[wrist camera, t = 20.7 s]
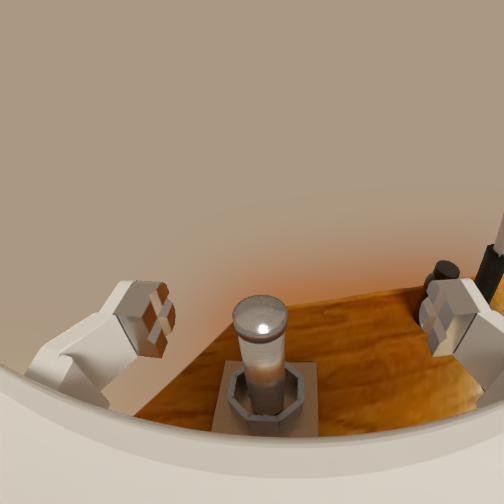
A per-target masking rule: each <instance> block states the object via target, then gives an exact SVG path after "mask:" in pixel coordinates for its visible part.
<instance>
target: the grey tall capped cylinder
mask: <svg viewBox="0 0 504 504" xmlns="http://www.w3.org/2000/svg"><path fill="white" fill-rule="evenodd" d="M232 315H233V323H234V328H235V331H236V333H237V335H238V339H239V344H240V350H241V355H242V361H243V366H244V371H245V377H246V382H247V387H248V392H249V397H250V402H251V406H252V409H253V410H254V411H255V412H256V413H258V414H260V415H269V416H271V415H274V414H276V413H278V412H279V411H280V410H281V409H282V408H283V405H284V387H285V331H286V328H287V308H286V306H285V304H284V303H283V302H282V301H280V300H279V299H277V298H275V297H272V296H268V295H255V296H251V297H248V298H245V299H244V300H242V301H241V302H239V303H238V304H237V305H236V307H235V308H234V310H233V314H232Z"/></svg>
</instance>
